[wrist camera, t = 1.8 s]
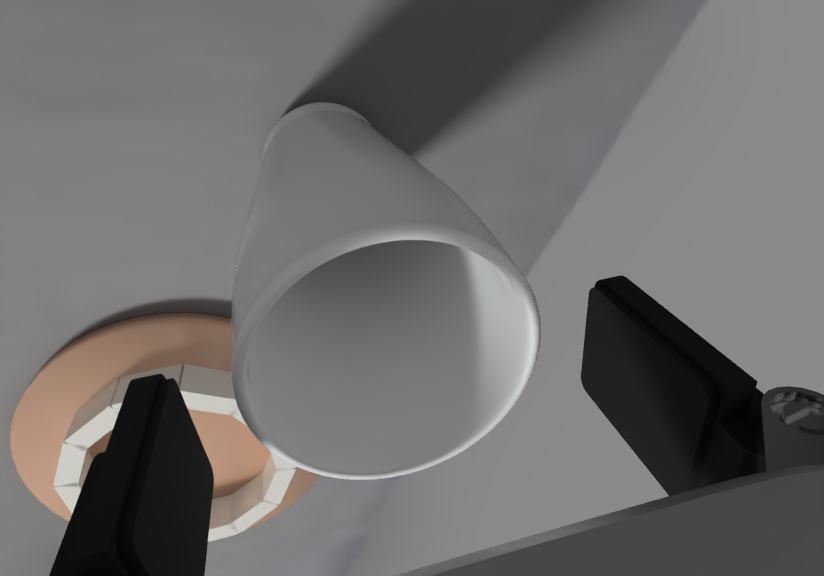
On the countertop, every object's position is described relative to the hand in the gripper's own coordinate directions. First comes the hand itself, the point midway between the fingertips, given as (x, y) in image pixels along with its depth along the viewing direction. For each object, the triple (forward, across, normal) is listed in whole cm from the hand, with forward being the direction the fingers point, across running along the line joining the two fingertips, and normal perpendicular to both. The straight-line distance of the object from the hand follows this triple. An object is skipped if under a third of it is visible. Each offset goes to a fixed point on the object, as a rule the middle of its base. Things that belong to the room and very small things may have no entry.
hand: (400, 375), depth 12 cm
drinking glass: (+15, 0, -1) cm, 15 cm away
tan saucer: (+15, +10, +13) cm, 22 cm away
